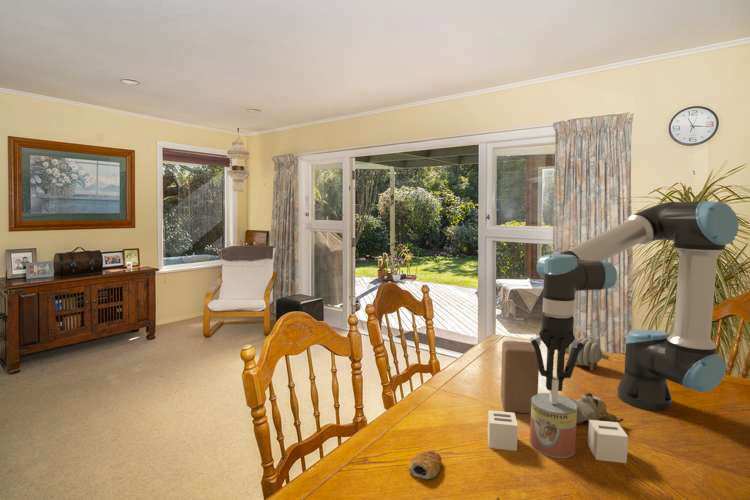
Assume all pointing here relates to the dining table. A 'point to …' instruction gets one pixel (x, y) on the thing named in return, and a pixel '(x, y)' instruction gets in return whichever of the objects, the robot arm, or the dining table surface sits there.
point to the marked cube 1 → (502, 430)
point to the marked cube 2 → (607, 441)
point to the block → (518, 376)
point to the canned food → (553, 426)
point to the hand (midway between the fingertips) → (553, 401)
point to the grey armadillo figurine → (588, 353)
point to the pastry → (425, 465)
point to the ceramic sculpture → (593, 410)
